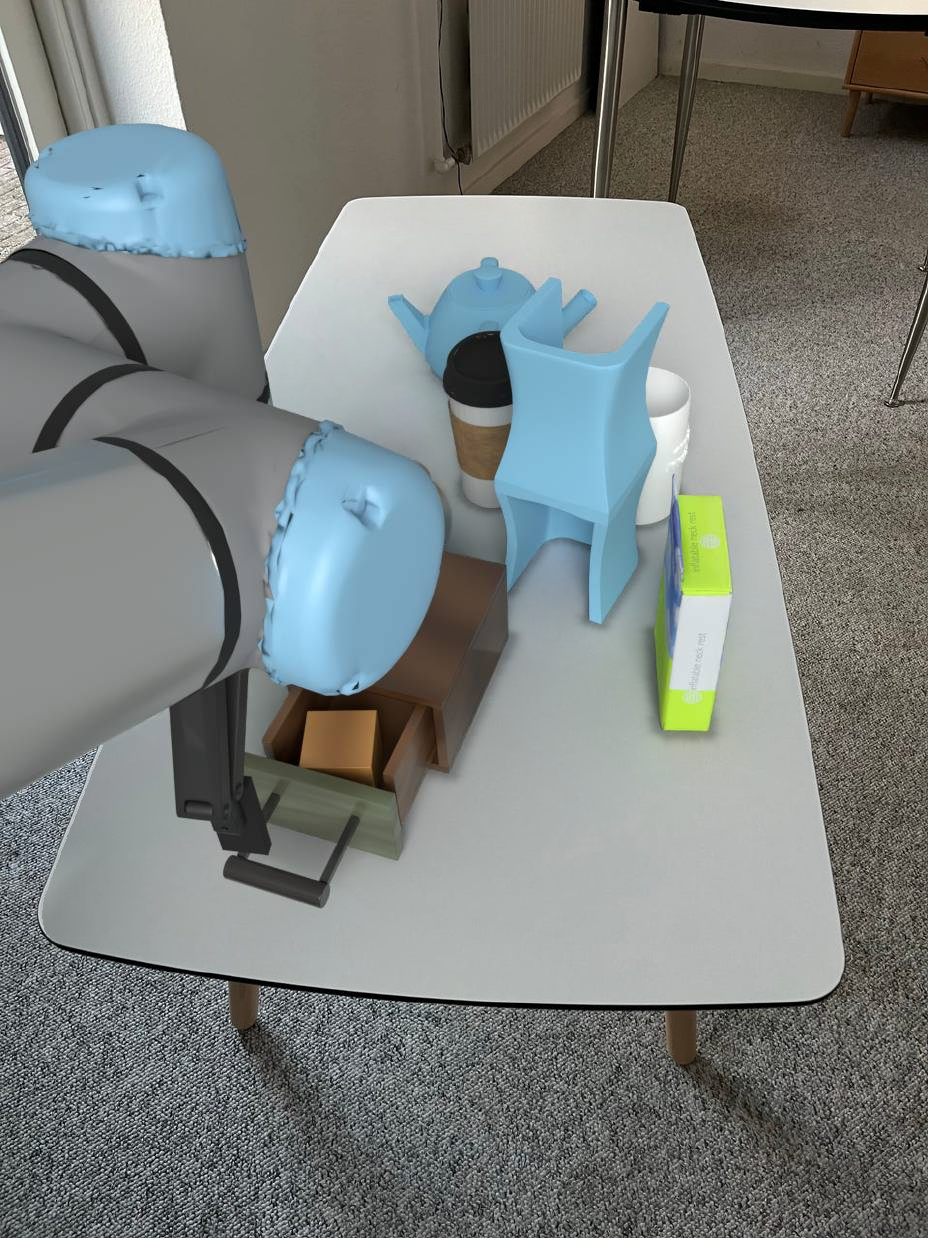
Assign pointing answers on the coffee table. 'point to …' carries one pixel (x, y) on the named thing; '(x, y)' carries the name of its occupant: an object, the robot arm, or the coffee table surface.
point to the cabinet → (453, 650)
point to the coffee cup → (479, 412)
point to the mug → (664, 442)
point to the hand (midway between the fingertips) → (279, 752)
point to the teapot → (476, 310)
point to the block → (344, 745)
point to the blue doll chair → (576, 444)
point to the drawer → (335, 789)
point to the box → (692, 611)
